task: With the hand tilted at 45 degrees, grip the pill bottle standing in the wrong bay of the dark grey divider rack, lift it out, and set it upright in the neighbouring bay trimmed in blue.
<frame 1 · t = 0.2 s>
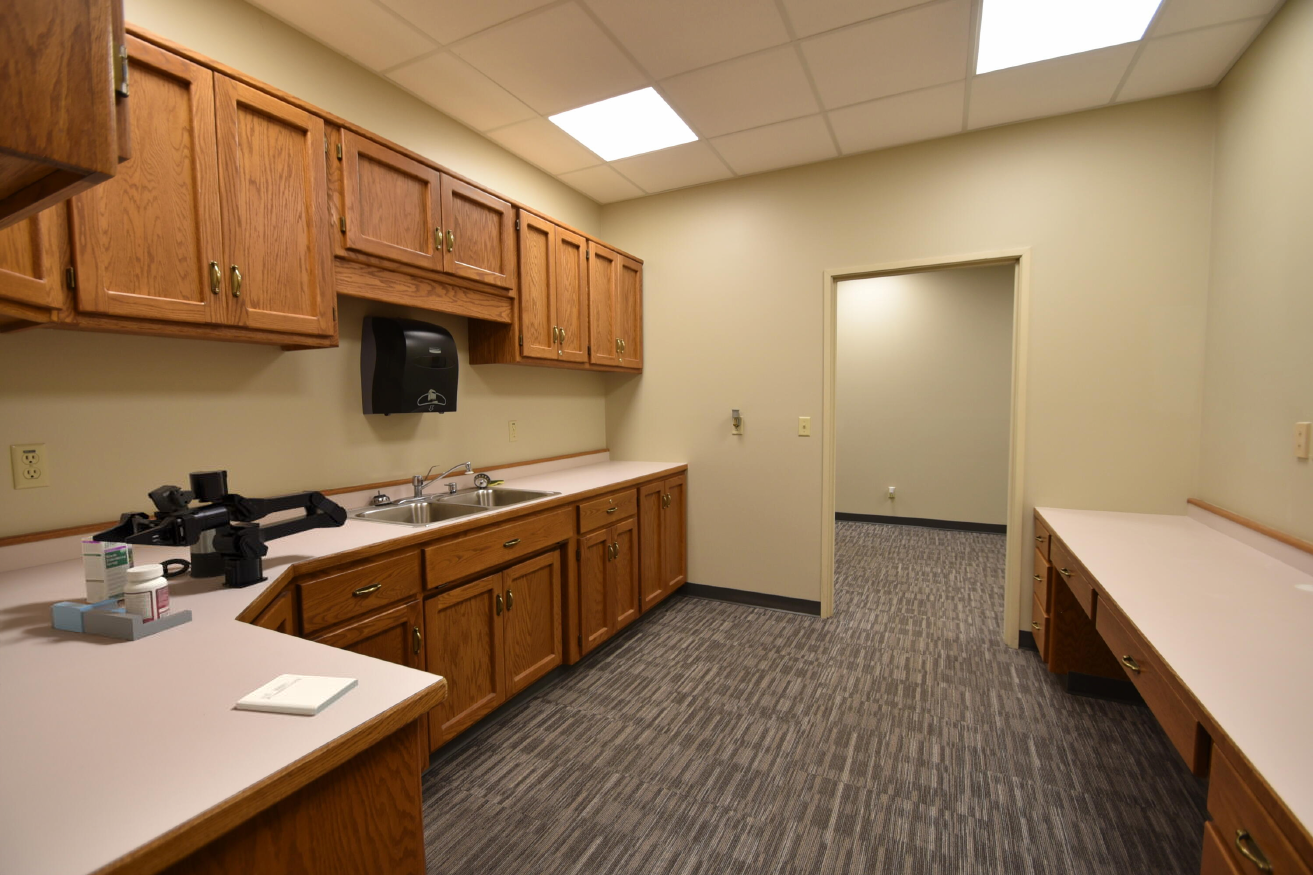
hand: (109, 539, 106), 17 cm above the counter, tool horizontal, fingers open, 9 cm apart
syrup box: (112, 600, 121), on the counter
external hard drive: (299, 700, 79), on the counter
divider rack: (127, 622, 107), on the counter
milk frother: (195, 575, 139), on the counter
pill bottle: (149, 626, 106), resting in divider rack
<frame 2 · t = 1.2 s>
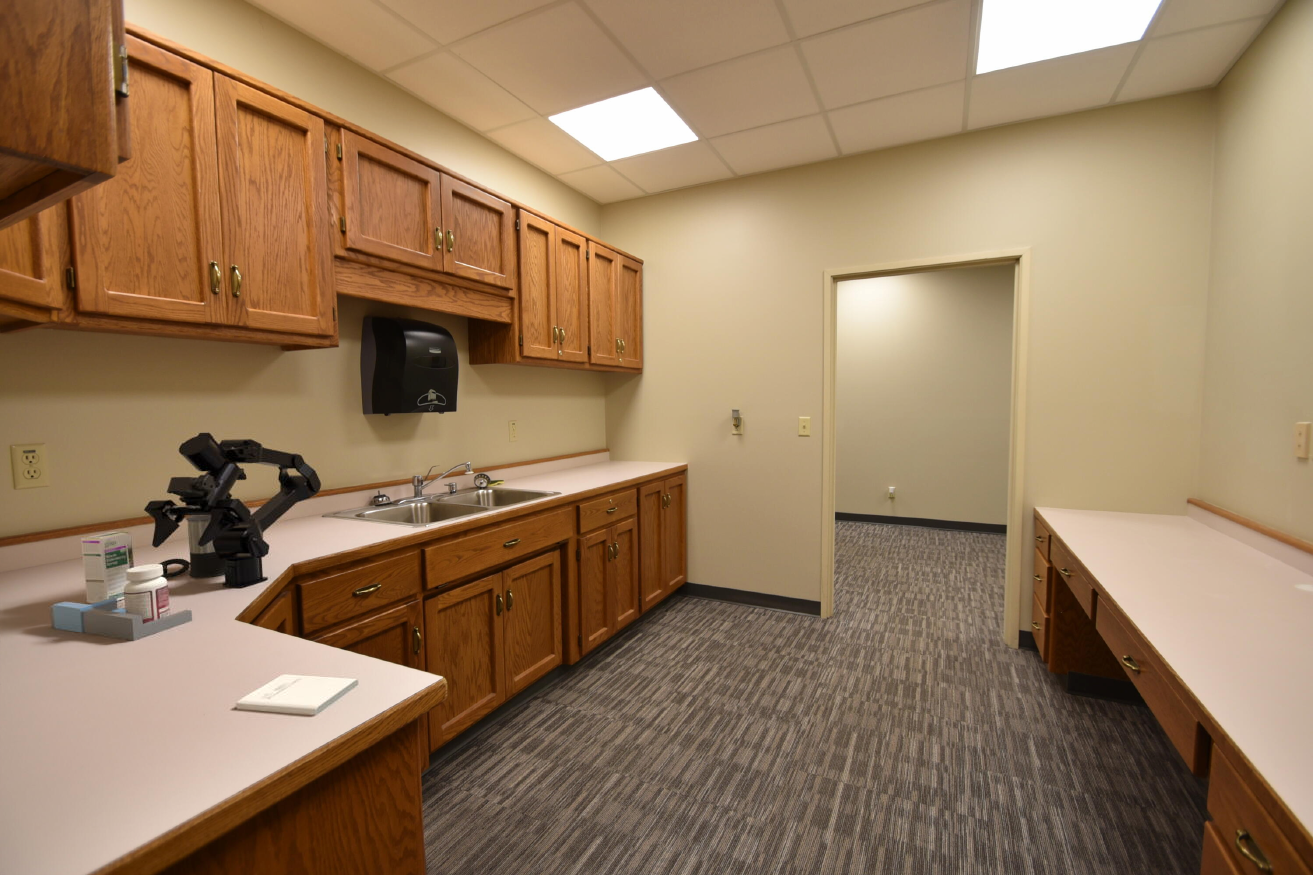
hand: (177, 546, 112), 14 cm above the counter, tool tilted 45°, fingers open, 9 cm apart
nothing on the counter moved.
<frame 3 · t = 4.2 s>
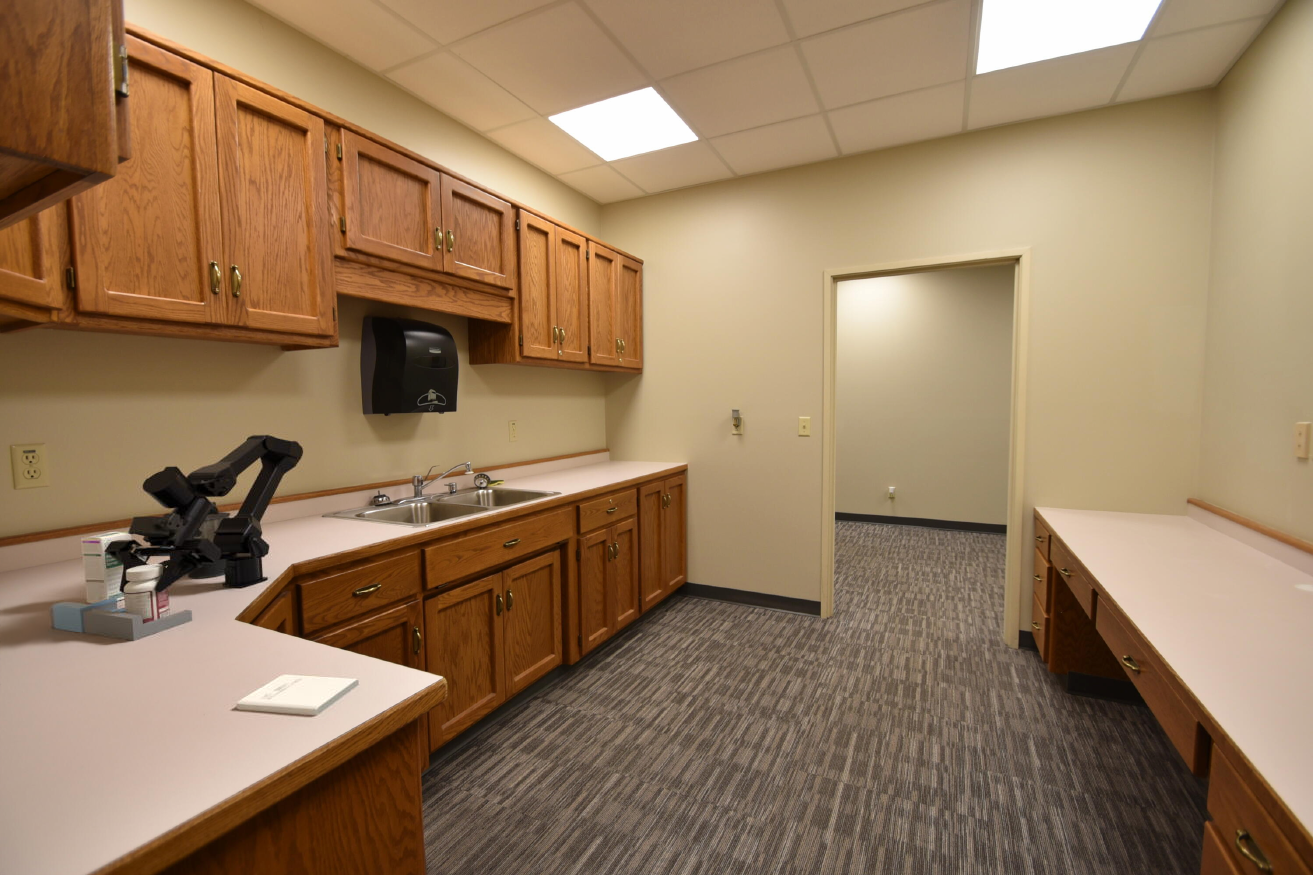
hand: (139, 591, 104), 7 cm above the counter, tool tilted 45°, fingers closed on pill bottle, 6 cm apart
pill bottle: (149, 626, 106), resting in divider rack, touching gripper
everything else where it was.
when the fingers open (9 cm above the counter, at t = 8.3 s): pill bottle drops 1 cm, resting on divider rack.
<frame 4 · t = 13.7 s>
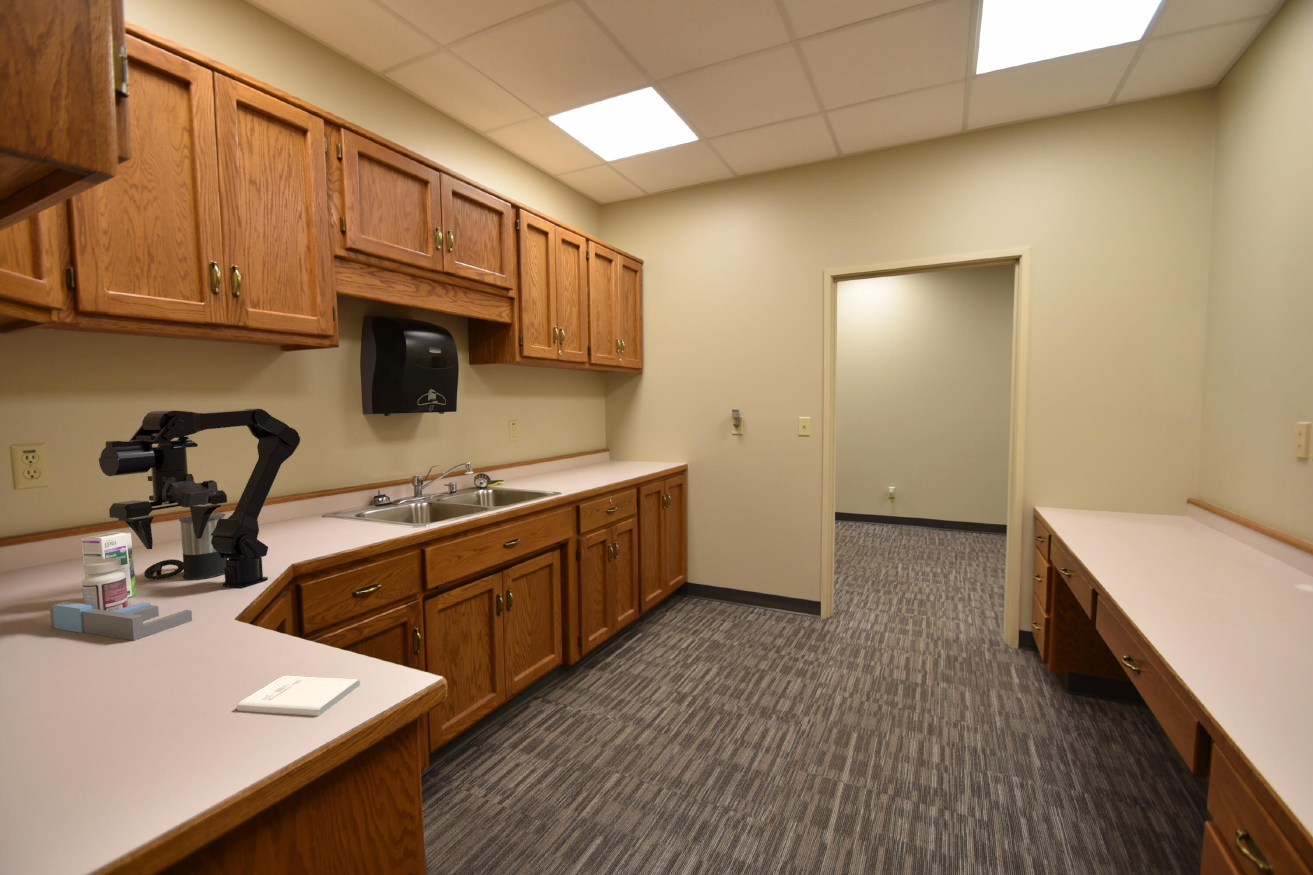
hand: (175, 543, 117), 13 cm above the counter, tool pointing down, fingers open, 9 cm apart
pill bottle: (107, 618, 109), resting on divider rack
at the end: pill bottle 0.2 cm from the target spot, resting on divider rack; pill bottle tilted 0°; the gripper is holding nothing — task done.
